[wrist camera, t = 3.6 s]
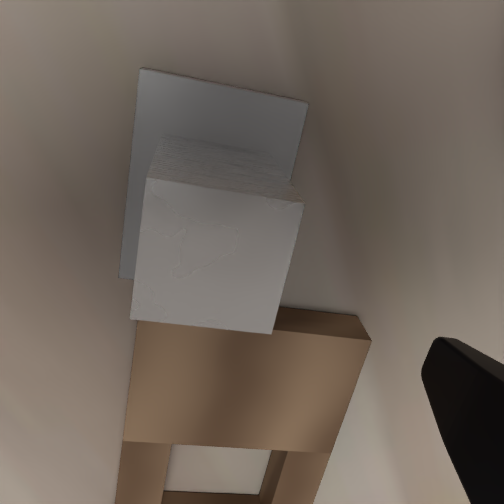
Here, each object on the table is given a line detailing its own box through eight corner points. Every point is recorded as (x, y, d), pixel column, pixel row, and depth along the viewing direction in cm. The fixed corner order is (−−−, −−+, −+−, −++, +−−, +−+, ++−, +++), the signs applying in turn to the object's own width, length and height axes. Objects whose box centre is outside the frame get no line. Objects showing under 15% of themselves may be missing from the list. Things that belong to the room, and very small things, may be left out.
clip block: (270, 153, 17) (305, 204, 12) (249, 250, 19) (271, 334, 13) (162, 133, 16) (146, 177, 11) (149, 236, 18) (129, 319, 12)
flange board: (357, 316, 22) (373, 343, 20) (289, 516, 27) (296, 554, 25) (143, 290, 20) (137, 317, 18) (115, 510, 25) (108, 551, 23)
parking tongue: (302, 100, 17) (308, 103, 17) (259, 284, 21) (262, 295, 20) (142, 67, 16) (139, 68, 15) (122, 267, 19) (118, 277, 19)
